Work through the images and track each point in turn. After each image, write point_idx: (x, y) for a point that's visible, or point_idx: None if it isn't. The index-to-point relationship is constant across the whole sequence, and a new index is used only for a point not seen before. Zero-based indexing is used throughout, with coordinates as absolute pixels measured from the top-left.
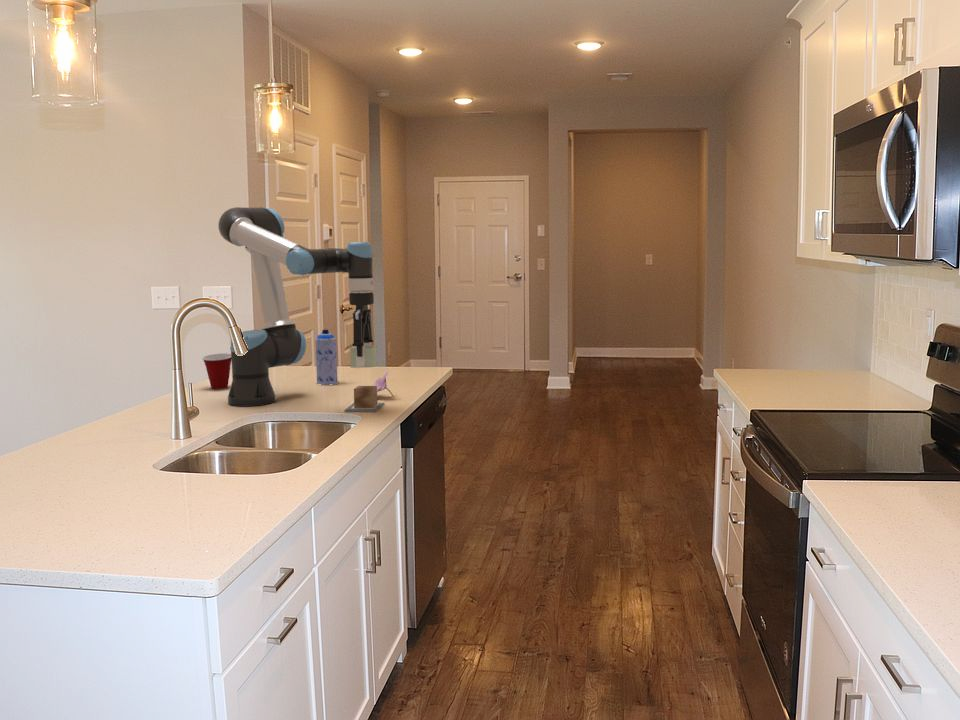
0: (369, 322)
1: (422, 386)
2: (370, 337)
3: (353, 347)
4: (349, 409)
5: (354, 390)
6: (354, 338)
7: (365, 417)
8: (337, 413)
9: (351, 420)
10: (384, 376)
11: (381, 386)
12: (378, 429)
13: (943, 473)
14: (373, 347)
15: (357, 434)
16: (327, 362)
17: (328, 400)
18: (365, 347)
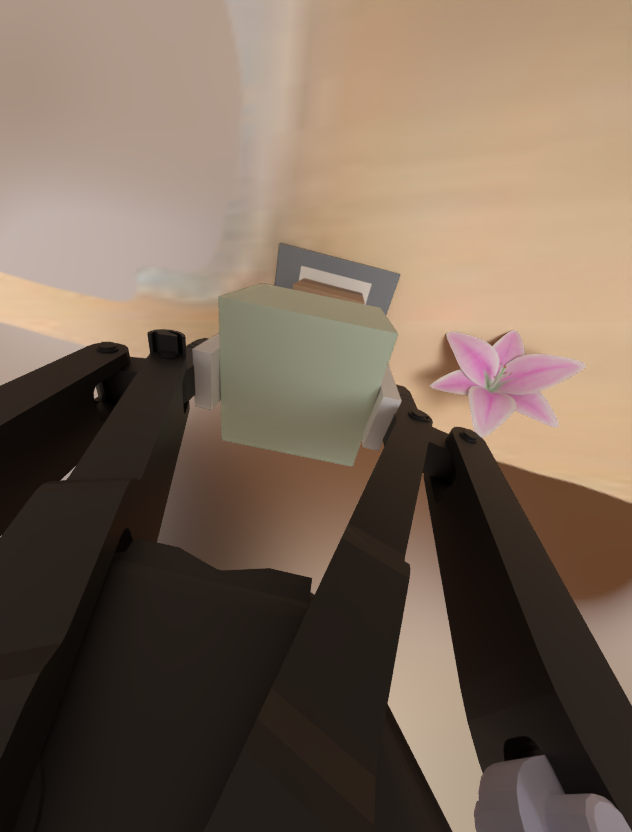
0: (453, 617)
1: (596, 471)
2: (427, 477)
3: (288, 325)
4: (286, 261)
5: (294, 286)
6: (60, 368)
7: (205, 312)
8: (259, 216)
9: (164, 272)
10: (531, 402)
11: (506, 377)
12: (86, 342)
13: None
14: (261, 447)
15: (22, 293)
16: None
17: (531, 146)
18: (265, 407)
